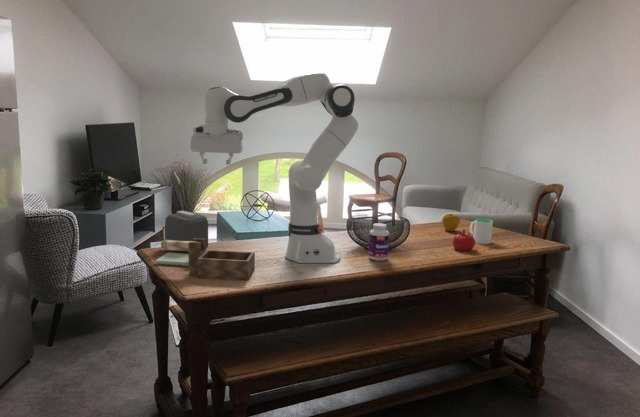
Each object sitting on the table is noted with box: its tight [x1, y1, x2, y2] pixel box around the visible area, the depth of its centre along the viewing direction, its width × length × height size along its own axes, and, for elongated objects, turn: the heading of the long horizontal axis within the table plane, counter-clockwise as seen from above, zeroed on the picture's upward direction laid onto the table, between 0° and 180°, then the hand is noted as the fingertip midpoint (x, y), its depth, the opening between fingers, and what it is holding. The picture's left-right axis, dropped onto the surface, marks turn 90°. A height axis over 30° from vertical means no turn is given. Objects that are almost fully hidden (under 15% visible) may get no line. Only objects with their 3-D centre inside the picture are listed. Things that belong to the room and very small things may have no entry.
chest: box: [188, 238, 256, 281], centre depth 194 cm, size 22×12×12 cm, turn 87°
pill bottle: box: [367, 222, 390, 262], centre depth 220 cm, size 8×8×14 cm
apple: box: [442, 213, 460, 232], centre depth 277 cm, size 9×8×9 cm
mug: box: [468, 218, 494, 245], centre depth 257 cm, size 12×8×10 cm
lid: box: [155, 251, 189, 267], centre depth 207 cm, size 17×11×6 cm, turn 83°
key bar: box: [160, 239, 195, 252], centre depth 194 cm, size 12×4×3 cm, turn 87°
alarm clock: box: [164, 210, 209, 253], centre depth 225 cm, size 16×11×16 cm
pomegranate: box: [451, 229, 476, 252], centre depth 240 cm, size 10×10×9 cm
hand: (216, 164), depth 213 cm, fingers open, 8 cm apart
